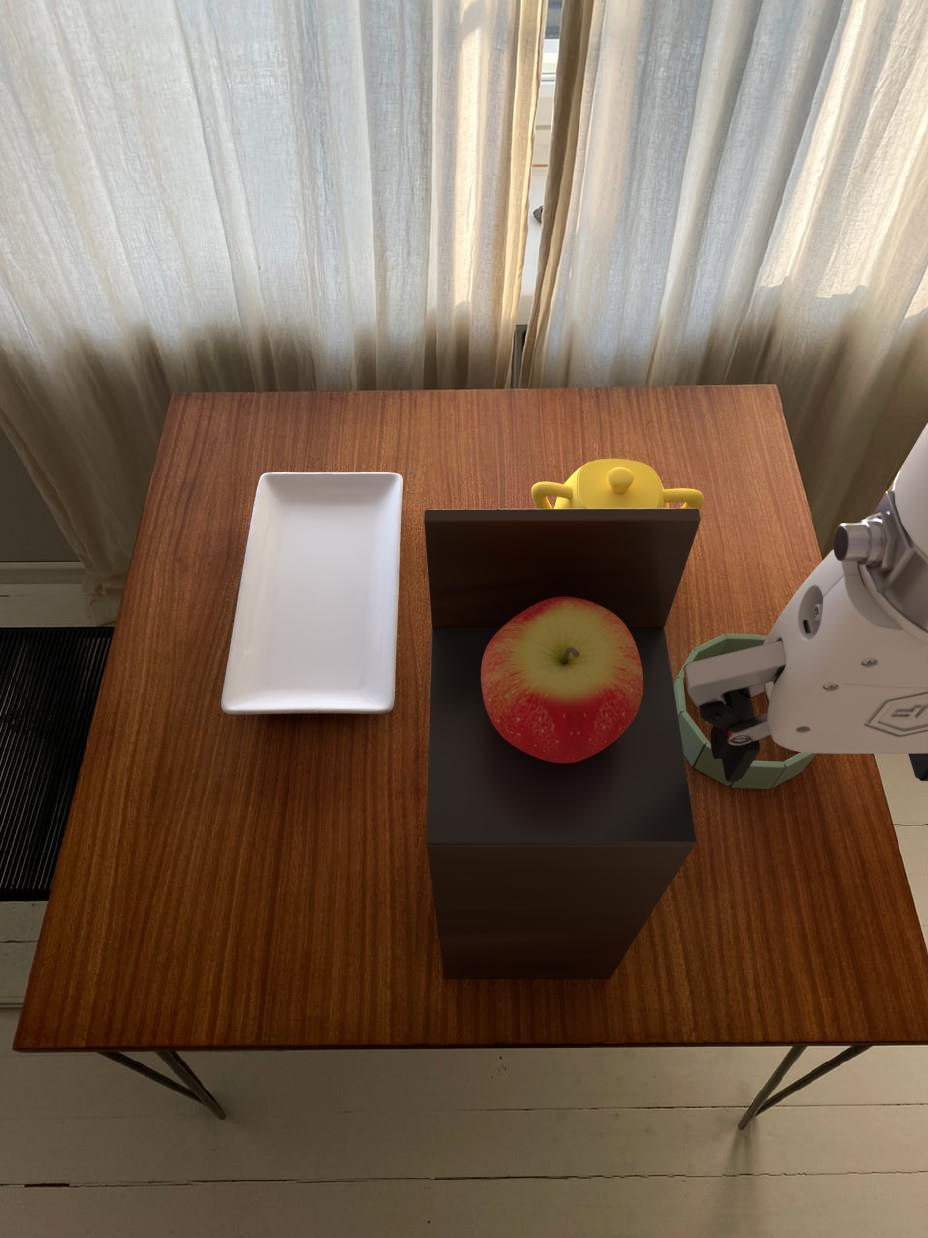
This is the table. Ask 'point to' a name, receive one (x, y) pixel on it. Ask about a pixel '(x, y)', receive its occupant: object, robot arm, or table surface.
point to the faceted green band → (700, 747)
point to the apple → (562, 679)
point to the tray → (318, 596)
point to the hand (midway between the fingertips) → (821, 754)
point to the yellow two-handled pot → (613, 488)
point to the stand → (541, 790)
